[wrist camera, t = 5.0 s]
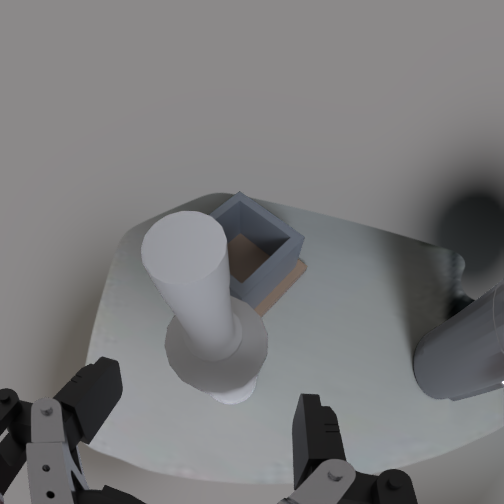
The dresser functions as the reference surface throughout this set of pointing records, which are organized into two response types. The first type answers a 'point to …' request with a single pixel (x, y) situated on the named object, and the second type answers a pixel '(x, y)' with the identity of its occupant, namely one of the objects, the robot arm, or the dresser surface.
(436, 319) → the dresser surface
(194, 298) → the bottle
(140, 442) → the dresser surface
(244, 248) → the sleeve
